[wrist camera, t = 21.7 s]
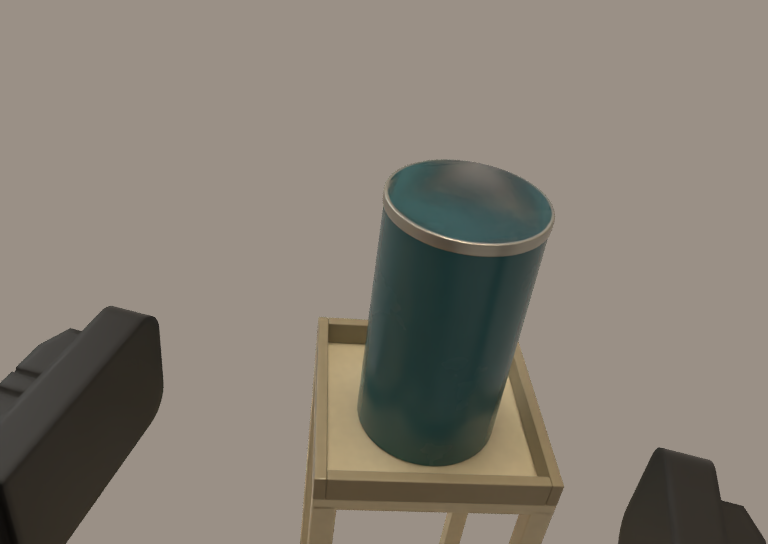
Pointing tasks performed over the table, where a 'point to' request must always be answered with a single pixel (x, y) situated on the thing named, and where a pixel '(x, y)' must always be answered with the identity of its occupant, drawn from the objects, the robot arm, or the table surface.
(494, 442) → the rack
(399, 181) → the tin
